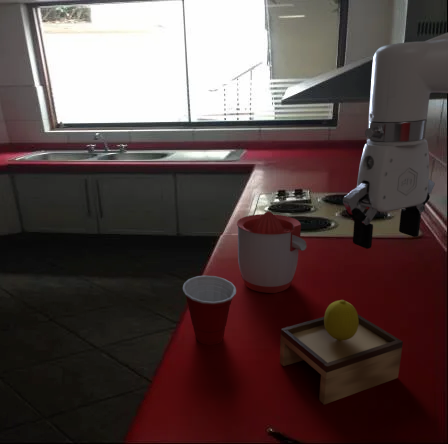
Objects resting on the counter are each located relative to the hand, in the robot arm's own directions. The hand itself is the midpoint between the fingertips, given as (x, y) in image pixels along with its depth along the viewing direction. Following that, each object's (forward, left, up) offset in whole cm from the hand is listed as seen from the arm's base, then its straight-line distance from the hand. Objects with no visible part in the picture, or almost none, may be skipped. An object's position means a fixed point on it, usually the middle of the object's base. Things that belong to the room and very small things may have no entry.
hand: (385, 240), depth 67 cm
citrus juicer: (-4, -37, -26) cm, 45 cm away
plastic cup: (+21, -22, -26) cm, 40 cm away
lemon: (+5, -3, -19) cm, 20 cm away
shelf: (+5, -3, -25) cm, 26 cm away
